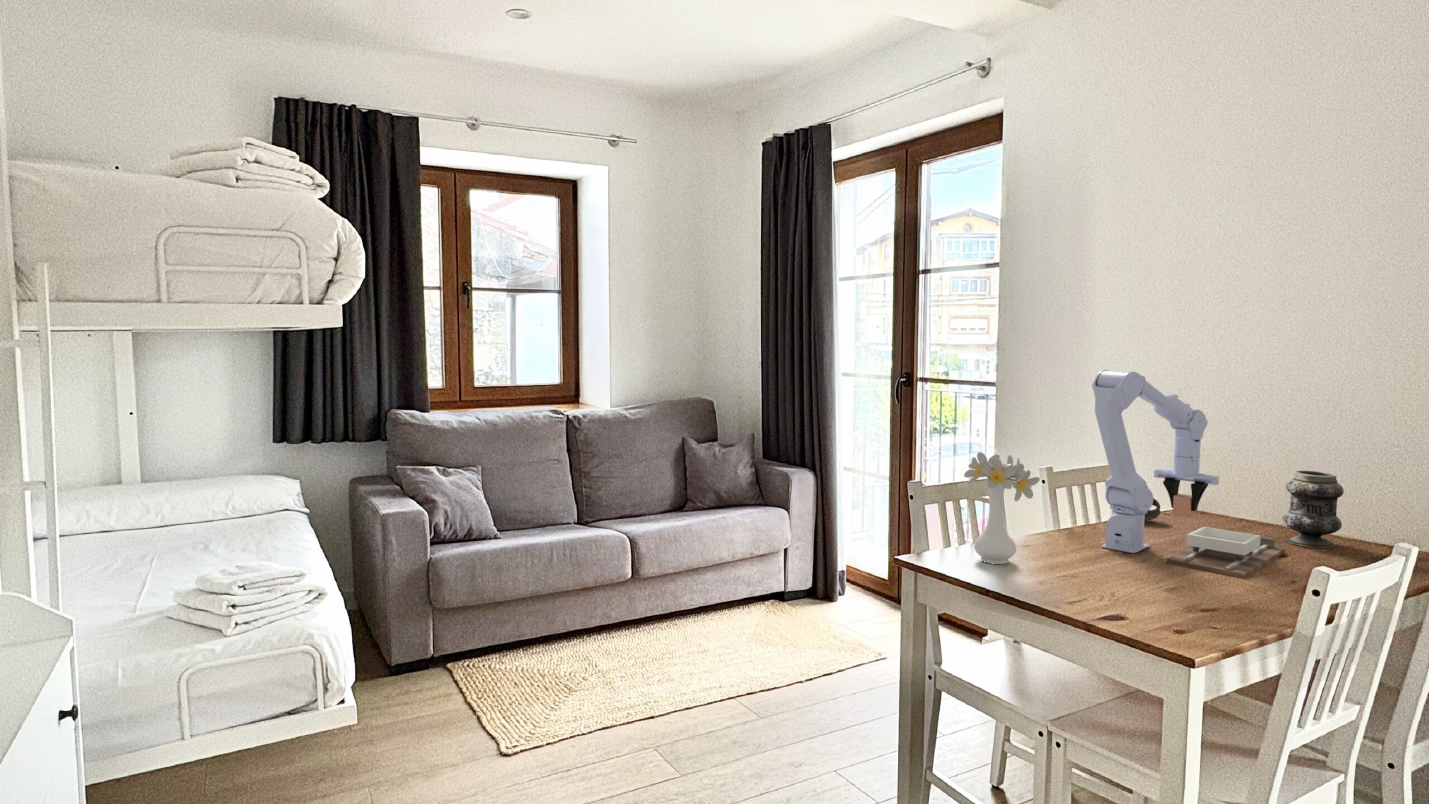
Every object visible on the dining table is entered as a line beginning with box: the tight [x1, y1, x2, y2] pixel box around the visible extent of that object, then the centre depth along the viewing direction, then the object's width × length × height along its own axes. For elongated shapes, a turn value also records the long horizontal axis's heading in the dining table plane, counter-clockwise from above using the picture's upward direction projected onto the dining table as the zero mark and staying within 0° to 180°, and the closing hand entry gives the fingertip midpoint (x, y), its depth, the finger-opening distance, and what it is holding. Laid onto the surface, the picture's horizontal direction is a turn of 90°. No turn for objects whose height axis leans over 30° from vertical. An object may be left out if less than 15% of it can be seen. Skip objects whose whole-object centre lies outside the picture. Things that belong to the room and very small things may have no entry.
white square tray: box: [1186, 526, 1262, 560], centre depth 197 cm, size 11×12×4 cm
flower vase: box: [963, 451, 1041, 565], centre depth 196 cm, size 13×18×25 cm
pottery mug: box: [1144, 497, 1161, 522], centre depth 238 cm, size 12×10×8 cm
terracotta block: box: [1172, 493, 1197, 519], centre depth 215 cm, size 4×4×5 cm
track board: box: [1165, 536, 1286, 579], centre depth 200 cm, size 30×16×3 cm, turn 132°
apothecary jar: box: [1282, 469, 1345, 549], centre depth 211 cm, size 12×12×18 cm
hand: (1184, 509), depth 215 cm, fingers closed on terracotta block, 4 cm apart
